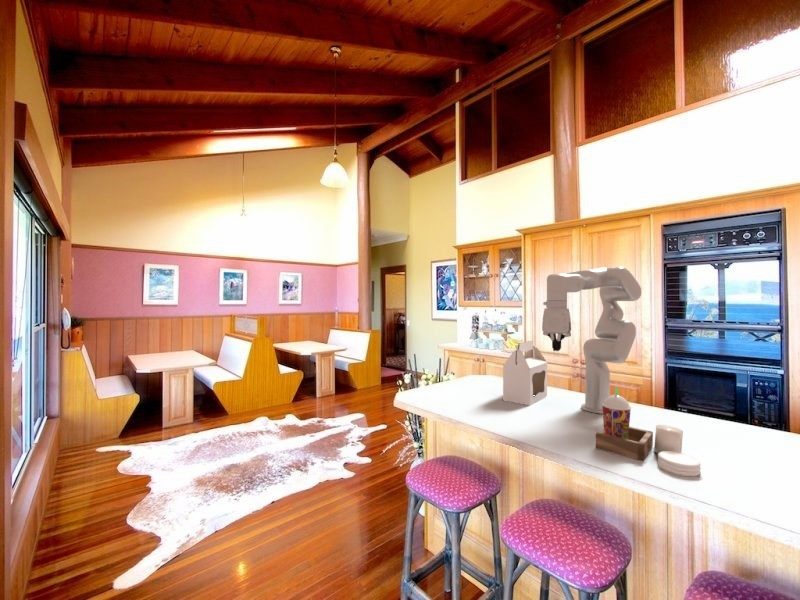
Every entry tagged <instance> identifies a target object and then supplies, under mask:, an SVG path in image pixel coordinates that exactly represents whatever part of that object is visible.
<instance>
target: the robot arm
mask: <svg viewBox="0 0 800 600" xmlns="http://www.w3.org/2000/svg"><path fill="white" fill-rule="evenodd" d="M598 288H599V296H600V299H601V303H602V312H601V315H600V317H599V319H598V322H597V324H596V327H595V329H594V334H595V336H596V337H597V338H589V339H587V340H586V341H585V342H584V344H583V348H582V349H583V355H584V362H585V383H584V385H585V389H584V390H585V393H584V397H585V399H584V403H581V405H580V407H581V409H582V410H583V411H586V412H589V413H594V414H600V415H603V405H602V403H604V401H605V399H606V398H607V397H608V396H610V395H611V393H610V392H611V391H610V389H611V387H610V385H611V383H610V381H611V379H610V377H611V374H610V367H609V366H608V364H607V363H612V364H624V363H625V362H626V361H627V359H628V356H629V354H630V353H631V349H632V347H633V345H634V342H635V339H636V335H637V328H636V326H635V323H634V322H632V321H630V320H626V319H623V318H624V315H625V314H624V311H623V309H622V307H621V306H620V305H619V303H618V302H634V301H635V302H636V301H637V300H639V299H640V298H641V296H642V287H641V285H640V284H639V282H638V281H637V279H636V277H635V276H634V275H633V273H631V271H630V270H628V269H627V268H626V267H624V266H607V267H604V266H603V267H598V268H591V269H585V270H583V269H582V270H577V271H572V272H566V273H557V274H556V273H553V274H549V275H548V276H547V277H546V301H544V302H543V303H542V304H543V306H546V308H545V307H544V309H543V315H542V324H541V326H542V327H541V330H542V335H544V336H547V337H548V338H549V339H550V341H551V346H552V347H551V348H552V350H553V351H554V352H555V351H556V352H559V351H561V350H562V341H563V340H564V339H565V338H569V337H572V333H571V331H572V319H571V313H570V309H569V308H568V293H578V292H581V291H586V290H594V289H598Z"/></svg>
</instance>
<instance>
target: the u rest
mask: <svg viewBox="0 0 800 600" xmlns="http://www.w3.org/2000/svg"><path fill="white" fill-rule="evenodd" d="M653 439H654V431H651V430H646V429H641V428H638V427H637V428H636V427H632V426H629V434H628V439H624V438H620V437H616V436H612V435H608V434H604V432H599V431H598V432H597V431H596V432H595V449H597V450H601V451H605V452H609V453H613V454H616V455H620V456H623V457H626V458H631V459H634V460H639V461H642V462H644V461H645V459H646V458H647V456H648V455H649V453H650V451H651V450H652V449H653V447H652V446H653V444H654V440H653ZM650 449H651V450H650ZM647 454H648V455H647Z"/></svg>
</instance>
